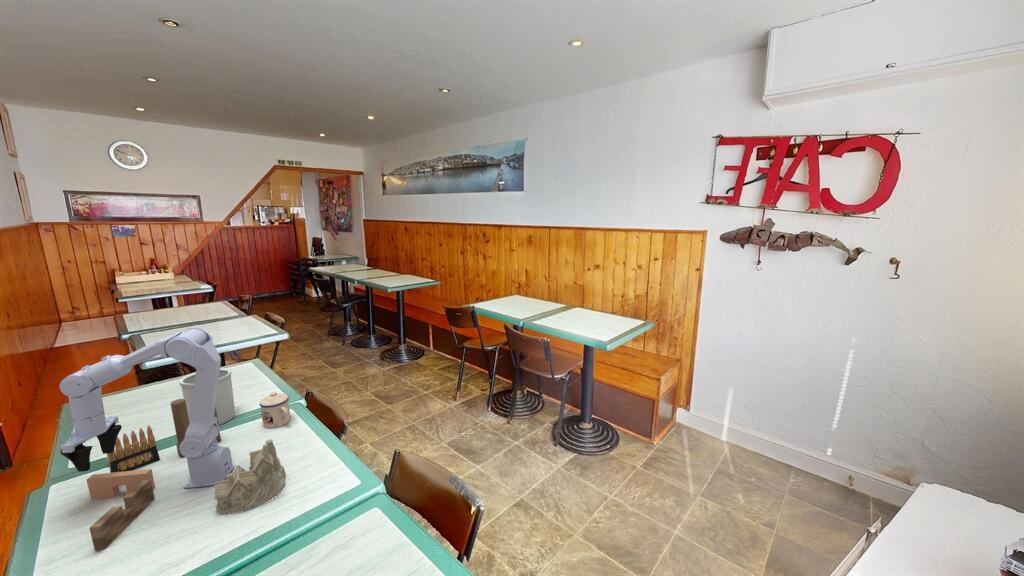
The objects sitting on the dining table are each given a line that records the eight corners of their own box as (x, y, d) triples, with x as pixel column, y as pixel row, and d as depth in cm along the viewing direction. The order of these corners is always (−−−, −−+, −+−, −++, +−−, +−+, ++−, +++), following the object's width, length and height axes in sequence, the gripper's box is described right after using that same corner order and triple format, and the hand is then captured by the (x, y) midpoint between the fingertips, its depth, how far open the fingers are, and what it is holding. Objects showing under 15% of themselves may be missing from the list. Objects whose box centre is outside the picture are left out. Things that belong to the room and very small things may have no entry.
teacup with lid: (257, 424, 142) (253, 394, 139) (282, 413, 149) (278, 385, 147) (275, 433, 136) (271, 402, 133) (301, 421, 143) (297, 392, 141)
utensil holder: (198, 412, 150) (190, 370, 147) (243, 407, 154) (236, 365, 151) (179, 433, 136) (170, 386, 133) (228, 426, 141) (221, 380, 137)
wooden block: (221, 441, 131) (213, 391, 128) (181, 458, 123) (171, 405, 119) (217, 438, 133) (209, 389, 130) (177, 454, 125) (167, 402, 121)
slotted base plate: (146, 500, 105) (142, 480, 104) (154, 499, 105) (150, 479, 104) (94, 550, 89) (89, 527, 88) (104, 548, 90) (99, 526, 88)
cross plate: (155, 487, 109) (151, 468, 108) (150, 492, 107) (146, 473, 106) (97, 494, 107) (92, 474, 106) (91, 499, 105) (86, 479, 104)
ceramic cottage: (290, 465, 119) (280, 422, 115) (281, 504, 104) (269, 456, 100) (230, 481, 113) (217, 436, 110) (211, 524, 98) (196, 474, 95)
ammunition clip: (112, 478, 113) (103, 441, 111) (110, 476, 114) (102, 438, 112) (160, 460, 122) (153, 424, 119) (158, 457, 123) (151, 423, 120)
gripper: (94, 402, 108) (102, 446, 111) (42, 430, 94) (52, 480, 97) (124, 401, 110) (130, 445, 112) (77, 428, 96) (86, 478, 98)
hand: (96, 461), depth 105 cm, fingers open, 7 cm apart
